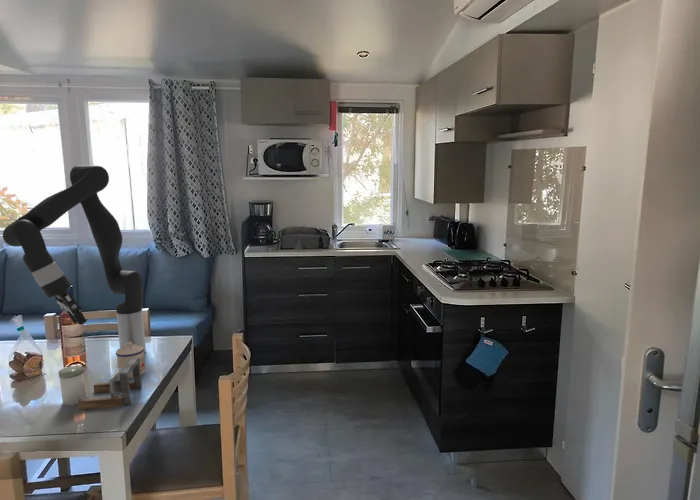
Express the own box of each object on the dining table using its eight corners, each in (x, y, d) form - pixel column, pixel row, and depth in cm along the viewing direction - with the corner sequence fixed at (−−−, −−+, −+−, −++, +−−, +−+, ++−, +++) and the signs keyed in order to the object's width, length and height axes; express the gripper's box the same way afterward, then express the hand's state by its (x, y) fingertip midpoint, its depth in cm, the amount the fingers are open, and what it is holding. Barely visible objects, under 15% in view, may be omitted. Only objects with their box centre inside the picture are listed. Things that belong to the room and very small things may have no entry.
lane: (95, 390, 160) (92, 360, 158) (141, 387, 162) (139, 357, 160) (79, 409, 147) (75, 376, 146) (129, 405, 149) (126, 373, 148)
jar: (67, 396, 156) (64, 366, 155) (90, 395, 157) (86, 365, 155) (58, 406, 150) (54, 375, 148) (81, 404, 150) (77, 373, 149)
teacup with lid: (140, 378, 169) (137, 346, 167) (113, 379, 168) (110, 347, 166) (152, 365, 180) (150, 335, 179) (127, 366, 180) (124, 335, 178)
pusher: (120, 390, 159) (118, 368, 158) (138, 388, 160) (136, 367, 158) (111, 402, 151) (108, 379, 149) (130, 400, 151) (128, 377, 150)
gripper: (68, 273, 149) (97, 317, 154) (59, 273, 160) (86, 314, 165) (43, 286, 145) (73, 331, 149) (35, 285, 156) (64, 327, 160)
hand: (80, 322), depth 157 cm, fingers open, 8 cm apart
